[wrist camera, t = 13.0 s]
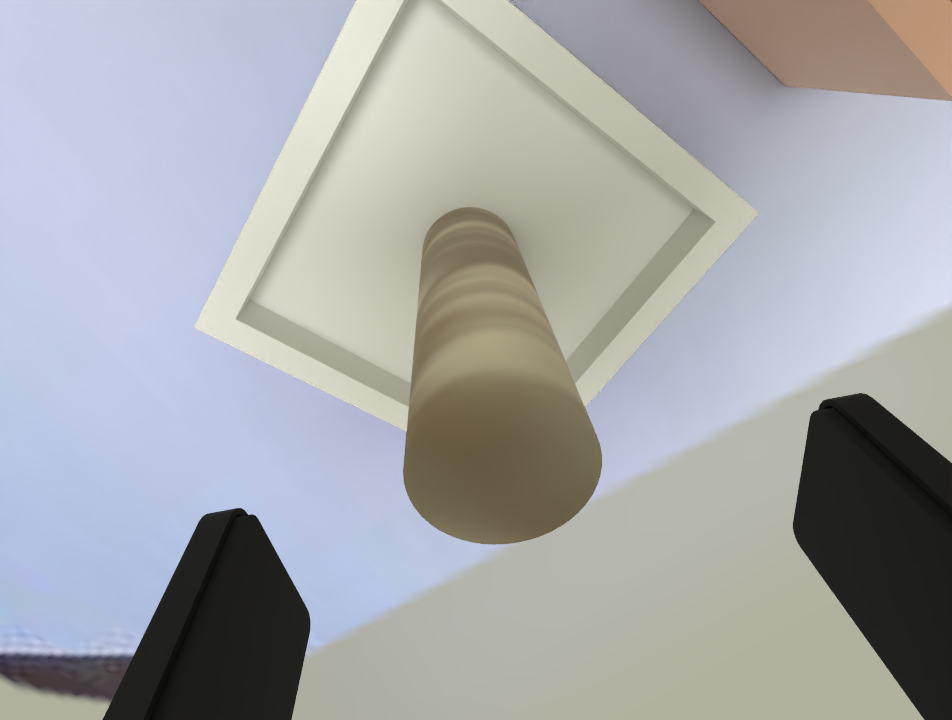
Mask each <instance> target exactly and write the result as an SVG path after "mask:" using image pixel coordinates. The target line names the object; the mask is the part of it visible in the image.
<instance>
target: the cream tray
mask: <svg viewBox="0 0 952 720" xmlns="http://www.w3.org/2000/svg"><path fill="white" fill-rule="evenodd" d="M465 207H475V208H481V209H485V210H488V211H490V212H492V213H494V214H495V215H497V216H498V217H500V218H501V219H502V220H503V221H504V222H505V223H506V224H507V226H508V227H509V228H510V230H511V232H512V234H513V236H514V238H515V241H516V243H517V246H518V248H519V250H520V253H521V255H522V258H523V260H524V262H525V265H526V267H527V270H528V272H529V275H530V277H531V279H532V282H533V284H534V287H535V289H536V291H537V294H538V296H539V299H540V301H541V303H542V306H543V308H544V311H545V313H546V315H547V318H548V320H549V323H550V325H551V327H552V330H553V332H554V335H555V337H556V339H557V342H558V344H559V347H560V349H561V351H562V354H563V356H564V359H565V361H566V363H567V366H568V368H569V371H570V373H571V375H572V378H573V380H574V383H575V385H576V387H577V390H578V392H579V395H580V397H581V399H582V402H583V404H584V407H586V406H587V404H588V403H589V402H590V401H591V400H592V399H593V398H594V397H595V396H596V394H597V393H598V392H599V391H600V390H601V389H602V388H603V387H604V386H605V384H606V383H607V382H608V381H609V380H610V379H611V378H612V377H613V375H614V374H615V373H616V372H617V371H618V370H619V369H620V368H621V367H622V365H623V364H624V363H625V362H626V361H627V360H628V359H629V358H630V357H631V355H632V354H633V353H634V352H635V351H636V350H637V349H638V348H639V346H640V345H641V344H642V343H643V342H644V341H645V340H646V339H647V338H648V336H649V335H650V334H651V333H652V332H653V331H654V330H655V329H656V328H657V326H658V325H659V324H660V323H661V322H662V321H663V320H664V319H665V318H666V316H667V315H668V314H669V313H670V312H671V311H672V310H673V309H674V307H675V306H676V305H677V304H678V303H679V302H680V301H681V300H682V299H683V297H684V296H685V295H686V294H687V293H688V292H689V291H690V290H691V289H692V287H693V286H694V285H695V284H696V283H697V282H698V281H699V280H700V279H701V277H702V276H703V275H704V274H705V273H706V272H707V271H708V270H709V268H710V267H711V266H712V265H713V264H714V263H715V262H716V261H717V260H718V258H719V257H720V256H721V255H722V254H723V253H724V252H725V251H726V250H727V248H728V247H729V246H730V245H731V244H732V243H733V242H734V241H735V239H736V238H737V237H738V236H739V235H740V234H741V233H742V232H743V231H744V229H745V228H746V227H747V226H748V225H749V224H750V223H751V222H752V221H753V219H754V218H755V217H756V216H757V215H758V214H759V212H757V211H756V210H755V209H754V208H753V207H752V206H750V205H749V204H748V203H747V202H746V201H744V200H743V199H742V198H741V197H740V196H739V195H737V194H736V193H735V192H734V191H733V190H731V189H730V188H729V187H728V186H727V185H726V184H724V183H723V182H722V181H721V180H720V179H718V178H717V177H716V176H715V175H714V174H713V173H711V172H710V171H709V170H708V169H707V168H705V167H704V166H703V165H702V164H701V163H700V162H698V161H697V160H696V159H695V158H694V157H692V156H691V155H690V154H689V153H688V152H687V151H685V150H684V149H683V148H682V147H681V146H679V145H678V144H677V143H676V142H675V141H674V140H672V139H671V138H670V137H669V136H668V135H666V134H665V133H664V132H663V131H662V130H661V129H659V128H658V127H657V126H656V125H655V124H654V123H652V122H651V121H650V120H649V119H648V118H646V117H645V116H644V115H643V114H642V113H641V112H639V111H638V110H637V109H636V108H635V107H633V106H632V105H631V104H630V103H629V102H628V101H626V100H625V99H624V98H623V97H622V96H620V95H619V94H618V93H617V92H616V91H615V90H613V89H612V88H611V87H610V86H609V85H607V84H606V83H605V82H604V81H603V80H602V79H600V78H599V77H598V76H597V75H596V74H594V73H593V72H592V71H591V70H590V69H589V68H587V67H586V66H585V65H584V64H583V63H581V62H580V61H579V60H578V59H577V58H576V57H574V56H573V55H572V54H571V53H570V52H568V51H567V50H566V49H565V48H564V47H563V46H561V45H560V44H559V43H558V42H557V41H555V40H554V39H553V38H552V37H551V36H550V35H548V34H547V33H546V32H545V31H544V30H542V29H541V28H540V27H539V26H538V25H537V24H535V23H534V22H533V21H532V20H531V19H529V18H528V17H527V16H526V15H525V14H524V13H522V12H521V11H520V10H519V9H518V8H516V7H515V6H514V5H513V4H512V3H511V2H509V1H508V0H356V2H355V4H354V6H353V8H352V10H351V12H350V14H349V16H348V18H347V20H346V22H345V24H344V26H343V28H342V30H341V32H340V34H339V36H338V38H337V40H336V42H335V44H334V46H333V48H332V50H331V52H330V54H329V56H328V58H327V60H326V62H325V64H324V66H323V68H322V70H321V72H320V74H319V76H318V78H317V81H316V83H315V85H314V87H313V89H312V91H311V93H310V95H309V97H308V99H307V101H306V103H305V105H304V107H303V109H302V111H301V113H300V115H299V117H298V119H297V121H296V123H295V125H294V127H293V129H292V131H291V133H290V135H289V137H288V139H287V141H286V143H285V145H284V147H283V149H282V151H281V153H280V155H279V157H278V159H277V161H276V163H275V165H274V167H273V169H272V171H271V173H270V175H269V177H268V179H267V181H266V183H265V185H264V187H263V189H262V191H261V193H260V195H259V197H258V199H257V201H256V203H255V205H254V207H253V209H252V211H251V213H250V215H249V217H248V219H247V221H246V223H245V226H244V228H243V230H242V232H241V234H240V236H239V238H238V240H237V242H236V244H235V246H234V248H233V250H232V252H231V254H230V256H229V258H228V260H227V262H226V264H225V266H224V268H223V270H222V272H221V274H220V276H219V278H218V280H217V282H216V284H215V286H214V288H213V290H212V292H211V294H210V296H209V298H208V300H207V302H206V304H205V306H204V308H203V310H202V312H201V314H200V316H199V318H198V320H197V322H196V324H195V326H194V328H196V329H198V330H200V331H202V332H204V333H206V334H208V335H210V336H212V337H214V338H216V339H219V340H221V341H223V342H225V343H227V344H229V345H231V346H233V347H235V348H237V349H239V350H241V351H243V352H245V353H247V354H249V355H251V356H253V357H255V358H257V359H259V360H261V361H263V362H265V363H267V364H269V365H271V366H274V367H276V368H278V369H280V370H282V371H284V372H286V373H288V374H290V375H292V376H294V377H296V378H298V379H300V380H302V381H304V382H306V383H308V384H310V385H312V386H314V387H316V388H318V389H320V390H322V391H324V392H327V393H329V394H331V395H333V396H335V397H337V398H339V399H341V400H343V401H345V402H347V403H349V404H351V405H353V406H355V407H357V408H359V409H361V410H363V411H365V412H367V413H369V414H371V415H373V416H375V417H377V418H380V419H382V420H384V421H386V422H388V423H390V424H392V425H394V426H396V427H398V428H400V429H402V430H404V431H406V432H407V422H408V410H409V399H410V387H411V376H412V364H413V353H414V341H415V329H416V318H417V306H418V295H419V283H420V272H421V260H422V249H423V243H424V239H425V237H426V234H427V233H428V231H429V229H430V228H431V226H432V225H433V224H434V223H435V222H436V221H437V220H438V219H439V218H440V217H441V216H443V215H444V214H446V213H448V212H450V211H452V210H455V209H459V208H465Z"/></svg>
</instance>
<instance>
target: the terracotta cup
mask: <svg viewBox="0 0 952 720" xmlns="http://www.w3.org/2000/svg"><path fill="white" fill-rule="evenodd" d="M698 1H699V2H700V3H701V4H702V5H703V6H704V7H706V8H707V9H708V10H709V11H710V12H711V13H712V14H713V15H714V16H715V17H716V18H717V19H718V20H719V21H720V22H721V23H722V24H723V25H724V26H725V27H726V28H727V29H728V30H729V31H730V32H731V33H732V34H733V35H734V36H735V37H736V38H737V39H738V40H739V41H740V42H741V43H742V44H743V45H744V46H745V47H746V48H747V49H748V50H749V51H750V52H751V53H752V54H753V55H754V56H755V57H756V58H757V59H758V60H759V61H760V62H761V63H762V64H763V65H764V66H765V67H766V68H767V69H768V70H769V71H770V72H771V73H773V74H774V75H775V76H776V77H777V78H778V79H779V80H780V81H781V82H782V83H783V84H784V85H785V86H789V87H800V88H811V89H822V90H834V91H845V92H856V93H868V94H879V95H890V96H902V97H913V98H924V99H936V100H947V101H952V0H698Z"/></svg>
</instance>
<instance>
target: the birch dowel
mask: <svg viewBox="0 0 952 720" xmlns="http://www.w3.org/2000/svg"><path fill="white" fill-rule="evenodd" d="M601 468H602V454H601V448H600V444H599V441H598V438H597V435H596V433H595V431H594V428H593V426H592V423H591V421H590V419H589V416H588V414H587V411H586V409H585V407H584V404H583V402H582V399H581V397H580V395H579V392H578V390H577V387H576V385H575V383H574V380H573V378H572V375H571V373H570V371H569V368H568V366H567V363H566V361H565V359H564V356H563V354H562V351H561V349H560V347H559V344H558V342H557V339H556V337H555V335H554V332H553V330H552V327H551V325H550V323H549V320H548V318H547V315H546V313H545V311H544V308H543V306H542V303H541V301H540V299H539V296H538V294H537V291H536V289H535V287H534V284H533V282H532V279H531V277H530V275H529V272H528V270H527V267H526V265H525V262H524V260H523V258H522V255H521V253H520V250H519V248H518V246H517V243H516V241H515V238H514V236H513V234H512V232H511V230H510V228H509V227H508V226H507V224H506V223H505V222H504V221H503V220H502V219H501V218H500V217H498V216H497V215H495V214H494V213H492V212H490V211H488V210H485V209H481V208H475V207H465V208H459V209H455V210H452V211H450V212H448V213H446V214H444V215H443V216H441V217H440V218H439V219H438V220H437V221H436V222H435V223H434V224H433V225H432V226H431V228H430V229H429V231H428V233H427V234H426V237H425V239H424V243H423V249H422V260H421V272H420V283H419V295H418V306H417V318H416V329H415V341H414V353H413V364H412V376H411V387H410V399H409V410H408V422H407V433H406V445H405V456H404V468H403V475H404V484H405V488H406V491H407V494H408V496H409V499H410V501H411V502H412V504H413V506H414V507H415V509H416V510H417V511H418V512H419V514H420V515H421V516H422V517H423V518H424V519H425V520H426V521H428V522H429V523H430V524H431V525H433V526H434V527H436V528H437V529H439V530H440V531H442V532H444V533H446V534H448V535H451V536H453V537H456V538H458V539H462V540H465V541H469V542H475V543H481V544H509V543H517V542H522V541H526V540H530V539H533V538H536V537H539V536H542V535H544V534H547V533H549V532H551V531H553V530H555V529H557V528H558V527H560V526H562V525H563V524H565V523H566V522H567V521H569V520H570V519H571V518H573V517H574V516H575V515H576V514H577V513H578V512H579V511H580V510H581V509H582V508H583V507H584V506H585V505H586V503H587V502H588V500H589V499H590V497H591V496H592V494H593V492H594V490H595V488H596V486H597V484H598V481H599V478H600V474H601Z"/></svg>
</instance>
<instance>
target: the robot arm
mask: <svg viewBox="0 0 952 720" xmlns="http://www.w3.org/2000/svg"><path fill="white" fill-rule="evenodd" d="M793 530H794V534H795V537H796V539H797V542H798V544H799V545H800V547H801V548H802V550H803V551H804V553H805V554H806V555H807V556H808V558H809V560H810V561H811V562H812V563H813V565H814V567H815V568H816V569H817V571H818V572H819V574H820V575H821V576H822V578H823V579H824V580H825V582H826V583H827V585H828V586H829V588H830V589H831V590H832V592H833V593H834V594H835V596H836V597H837V599H838V600H839V601H840V603H841V604H842V605H843V607H844V608H845V610H846V611H847V613H848V614H849V615H850V617H851V618H852V619H853V621H854V622H855V624H856V625H857V626H858V628H859V629H860V631H861V632H862V633H863V635H864V636H865V638H866V639H867V640H868V642H869V643H870V645H871V646H872V647H873V649H874V650H875V652H876V653H877V654H878V656H879V657H880V658H881V660H882V661H883V663H884V664H885V665H886V667H887V668H888V670H889V671H890V672H891V674H892V675H893V677H894V678H895V679H896V681H897V682H898V683H899V685H900V686H901V688H902V689H903V690H904V692H905V693H906V695H907V696H908V697H909V699H910V700H911V702H912V703H913V704H914V706H915V707H916V708H917V710H918V711H919V713H920V714H921V716H922V717H923V718H924V719H925V720H952V463H951V462H950V461H948V460H947V459H946V458H945V457H943V456H942V455H941V454H940V453H939V452H937V451H936V450H935V449H934V448H932V447H931V446H930V445H929V444H928V443H926V442H925V441H924V440H923V439H922V438H920V437H919V436H918V435H917V434H916V433H914V432H913V431H912V430H911V429H910V428H908V427H907V426H906V425H904V424H903V423H902V422H901V421H900V420H899V419H897V418H896V417H895V416H893V414H891V413H890V412H889V411H888V410H886V409H885V408H884V407H883V406H882V405H880V404H879V403H878V402H877V401H876V400H874V399H873V398H872V397H870V396H868V395H867V394H862V393H859V394H854V395H848V396H843V397H837V398H832V399H827V400H824V401H823V402H822V403H821V404H820V406H819V409H818V410H817V411H814V412H813V413H812V414H811V417H810V421H809V427H808V434H807V440H806V447H805V452H804V458H803V465H802V471H801V478H800V483H799V490H798V496H797V502H796V509H795V514H794V521H793ZM309 633H310V616H309V612H308V610H307V608H306V606H305V604H304V602H303V600H302V598H301V597H300V595H299V593H298V591H297V589H296V587H295V586H294V584H293V582H292V580H291V578H290V576H289V575H288V573H287V571H286V569H285V567H284V566H283V564H282V562H281V560H280V558H279V556H278V555H277V553H276V551H275V549H274V547H273V545H272V544H271V542H270V540H269V538H268V536H267V534H266V533H265V531H264V529H263V527H262V525H261V523H260V522H259V520H258V518H257V517H256V516H255V515H248V514H247V513H246V511H245V510H243V509H241V508H236V509H231V510H226V511H220V512H215V513H209V514H206V515H204V516H203V517H202V518H201V520H200V521H199V523H198V525H197V527H196V529H195V531H194V533H193V535H192V537H191V539H190V541H189V543H188V546H187V548H186V550H185V552H184V554H183V556H182V558H181V560H180V562H179V564H178V566H177V568H176V570H175V572H174V574H173V576H172V578H171V580H170V582H169V585H168V587H167V589H166V591H165V593H164V595H163V597H162V599H161V601H160V603H159V605H158V607H157V609H156V611H155V613H154V615H153V617H152V619H151V621H150V624H149V626H148V628H147V630H146V632H145V634H144V636H143V638H142V640H141V642H140V644H139V646H138V648H137V650H136V652H135V654H134V656H133V658H132V661H131V663H130V665H129V667H128V669H127V671H126V673H125V675H124V677H123V679H122V681H121V683H120V685H119V687H118V689H117V691H116V693H115V695H114V697H113V700H112V702H111V704H110V706H109V708H108V710H107V712H106V714H105V716H104V718H103V720H291V719H292V714H293V709H294V705H295V700H296V695H297V690H298V685H299V680H300V676H301V671H302V667H303V662H304V657H305V652H306V648H307V643H308V638H309Z"/></svg>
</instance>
